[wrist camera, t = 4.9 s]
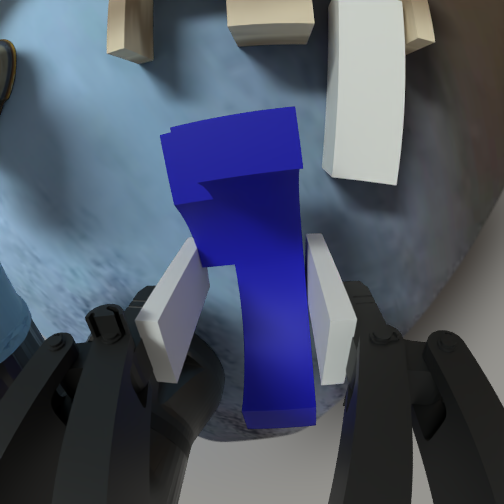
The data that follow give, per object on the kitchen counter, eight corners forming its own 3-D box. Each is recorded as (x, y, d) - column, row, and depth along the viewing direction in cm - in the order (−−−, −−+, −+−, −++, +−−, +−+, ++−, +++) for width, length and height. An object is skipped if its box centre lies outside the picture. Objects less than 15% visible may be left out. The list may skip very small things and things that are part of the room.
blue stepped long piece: (184, 132, 12) (118, 141, 7) (285, 115, 12) (294, 106, 6) (231, 344, 17) (215, 428, 11) (307, 338, 16) (315, 425, 11)
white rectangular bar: (375, 173, 19) (396, 185, 15) (321, 167, 19) (331, 177, 16) (381, 19, 14) (401, 1, 10) (327, 8, 14) (337, -14, 11)
